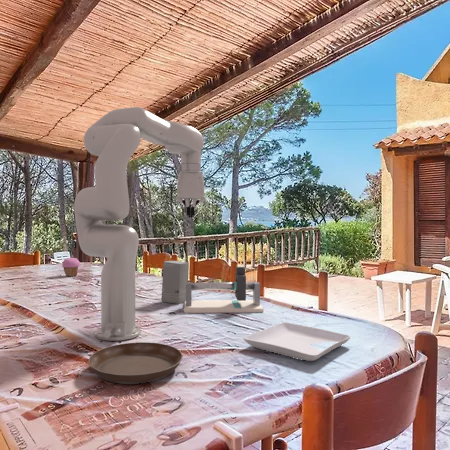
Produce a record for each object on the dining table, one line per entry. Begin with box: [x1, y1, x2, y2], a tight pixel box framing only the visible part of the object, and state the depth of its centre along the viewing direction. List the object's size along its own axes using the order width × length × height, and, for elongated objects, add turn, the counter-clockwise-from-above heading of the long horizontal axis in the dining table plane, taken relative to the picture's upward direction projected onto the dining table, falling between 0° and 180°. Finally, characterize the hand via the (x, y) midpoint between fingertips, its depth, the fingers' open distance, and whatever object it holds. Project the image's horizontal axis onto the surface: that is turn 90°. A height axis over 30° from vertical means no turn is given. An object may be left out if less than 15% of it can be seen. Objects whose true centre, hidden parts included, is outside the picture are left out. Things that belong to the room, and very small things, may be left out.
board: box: [183, 299, 264, 314], centre depth 151 cm, size 14×28×1 cm, turn 94°
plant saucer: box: [87, 341, 184, 385], centre depth 92 cm, size 21×21×3 cm
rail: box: [186, 281, 261, 306], centre depth 151 cm, size 4×27×8 cm, turn 94°
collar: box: [234, 266, 247, 301], centre depth 151 cm, size 9×3×11 cm, turn 4°
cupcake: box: [61, 257, 81, 277], centre depth 219 cm, size 9×9×10 cm
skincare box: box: [161, 260, 190, 305], centre depth 160 cm, size 8×7×16 cm
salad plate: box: [243, 322, 351, 362], centre depth 108 cm, size 21×21×3 cm
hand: (190, 217), depth 156 cm, fingers closed
